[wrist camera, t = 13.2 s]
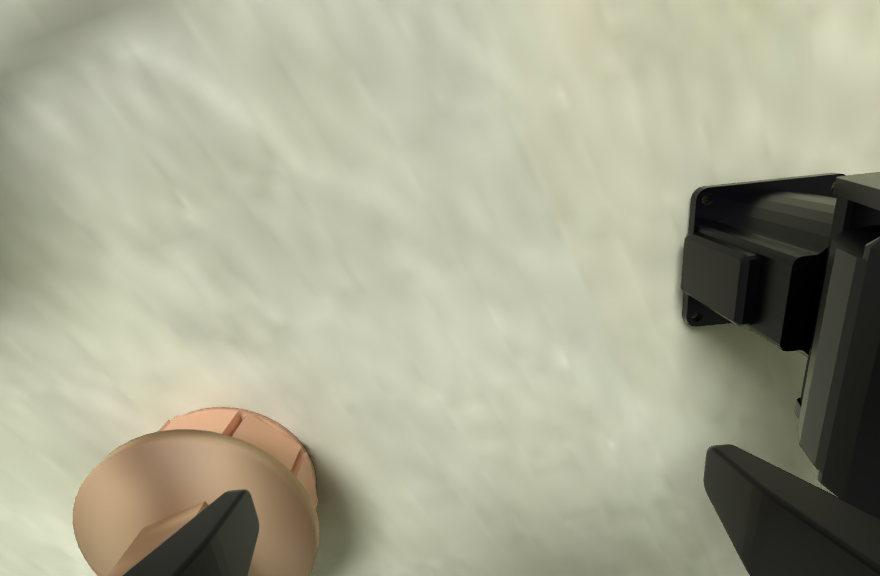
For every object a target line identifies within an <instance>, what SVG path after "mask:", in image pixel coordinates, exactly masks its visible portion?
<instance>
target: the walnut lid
mask: <svg viewBox="0 0 880 576" xmlns="http://www.w3.org/2000/svg"><path fill="white" fill-rule="evenodd" d="M239 489H246V490H248V491H249V492H250V493H251V496H252V499H253V502H254V506H255V509H256V512H257V516H258V519H259V534H258V538H257V542H256V546H255V550H254V554H253V558H252V562H251V565H250V569H249V573H248V576H309V574H310V572H311V570H312V567H313V564H314V560H315V557H316V553H317V549H318V545H319V536H320V528H319V519H318V516H317V512H316V508H315V506H314V504H313V501H312V499H311V497H310V495H309V494H308V492H307V490H306V489H305V487H304V486H303V484H302V483H301V482H300V481H299V480H298V478H297V477H296V476H295V475H294V474H293V473H292V472H291V471H290V470H289V469H288V468H287V467H286V466H285V465H284V464H283V463H281V462H280V461H278V460H277V459H276V458H274V457H273V456H272V455H270V454H269V453H267V452H265V451H263V450H262V449H260V448H258V447H256V446H254V445H252V444H250V443H247V442H245V441H243V440H240V439H237V438H234V437H231V436H228V435H225V434H220V433H216V432H211V431H203V430H194V429H175V430H166V431H159V432H155V433H151V434H146V435H143V436H141V437H138V438H135V439H133V440H131V441H129V442H127V443H125V444H123V445H121V446H120V447H118V448H117V449H116V450H114V451H113V452H112V453H110V454H109V455H108V456H107V457H106V458H105V459H104V460H103V461H102V462H101V463H100V464H99V465H98V466H97V467H96V468H95V469H94V470H93V471H92V472H91V473H90V474H89V475H88V476H87V477H86V479H85V481H84V482H83V484H82V485H81V487H80V489H79V491H78V494H77V496H76V498H75V503H74V508H73V527H74V534H75V537H76V540H77V543H78V546H79V548H80V550H81V552H82V554H83V556H84V558H85V560H86V561H87V563H88V564H89V565H90V567H91V568H92V570H93V571H94V572H95V573H96V574H97V575H98V576H122V575H123V574H124V573H126V572H127V571H128V570H129V569H131V568H132V567H133V566H134V565H135V564H137V563H138V562H139V561H140V560H142V559H143V558H144V557H145V556H147V555H148V554H149V553H150V552H152V551H153V550H154V549H155V548H156V547H158V546H159V545H160V544H161V543H163V542H164V541H165V540H166V539H168V538H169V537H170V536H171V535H173V534H174V533H175V532H176V531H177V530H179V529H180V528H181V527H182V526H184V525H185V524H186V523H187V522H189V521H190V520H191V519H192V518H194V517H195V516H196V515H197V514H198V513H200V512H201V511H202V510H203V509H205V508H206V507H207V506H208V505H210V504H211V503H212V502H213V501H215V500H216V499H217V498H218V497H219V496H221V495H222V494H223V493H225V492H226V491H230V490H239Z"/></svg>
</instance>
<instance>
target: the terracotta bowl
mask: <svg viewBox="0 0 880 576" xmlns="http://www.w3.org/2000/svg"><path fill="white" fill-rule="evenodd" d="M175 429H194V430H203V431H211V432H216V433H220V434H225V435H228V436H231V437H234V438H237V439H240V440H243V441H245V442H247V443H250V444H252V445H254V446H256V447H258V448H260V449H262V450H263V451H265V452H267V453H269V454H270V455H272V456H273V457H274V458H276V459H277V460H278V461H280V462H281V463H283V464H284V465H285V466H286V467H287V468H288V469H289V470H290V471H291V472H292V473H293V474H294V475H295V476H296V477H297V478H298V480H299V481H300V482H301V483H302V484H303V486H304V487H305V489H306V490H307V492H308V494H309V495H310V497H311V499H312V501H313V504H314V506H315V508H316V506H317V503H318V498H317V493H316V474H315V469H314V466H313V463H312V460H311V458H310V456H309V454H308V452H307V451H306V449H305V448H304V447H303V445H302V444H301V443H300V442H299V440H298V439H297V438H296V437H295V436H294V435H293V434H292V433H290V432H289V431H288V430H287V429H286V428H284V427H283V426H281V425H280V424H278V423H277V422H275V421H273V420H271V419H269V418H267V417H265V416H263V415H260V414H258V413H254V412H251V411H248V410H243V409H238V408H228V407H214V408H206V409H200V410H197V411H193V412H190V413H188V414H185V415H183V416H176V417H175V418H174V419H173V420H172V421H169V420H168V421H167V422H166V423H165V425H164V426H163V427H162V428H161V429H160V430H159V431H166V430H175ZM159 431H158V432H159Z"/></svg>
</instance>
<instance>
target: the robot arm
mask: <svg viewBox="0 0 880 576" xmlns="http://www.w3.org/2000/svg"><path fill="white" fill-rule="evenodd" d="M834 181H835V187H834V188H833V189H831V186H832V183H833V182H834ZM705 194H708V200H707V201H706V202H705V203H702V197H703V196H704V195H705ZM681 289H682V290H683V291H684V298H683V311H682V317H683V319H684V321H685V322H687V323H688V324H690V325H691V326H706V325H716V324H726V323H734V324H735V325H737V326H744V327H746V328H748V329H749V330H751V331H752V332H754V333H756V334H757V335H759V336H760V337H762V338H764V339H765V340H767V341H769V342H770V343H772V344H773V345H775V346H777V347H778V348H780V349H781V350H783V351H796V350H797V351H799V352H800V353H802V354H804V355H805V356H807V357H808V360H807V366H806V371H805V377H804V382H803V388H802V394H801V398H798V399H797V402H796V408H795V414H796V415H797V417H798V419H799V422H798V436H799V445H800V446H801V448H802V449H803V450H804V452H805V453H806V455H807V456H808V458H809V459H810V460H811V462H812V463H813V465H814V466H815V467H816V468H817V469H818V470H819V471H818V480H819V481H820V483H821V484H822V485H824V486H825V487H826V488H827V489H828V490H830V491H831V492H832V493H833V494H835V495H836V496H837V497H836V496H834V495H832V494H830V493H828V492H826V491H824V490H822V489H820V488H818V487H816V486H814V485H812V484H810V483H808V482H806V481H804V480H802V479H800V478H798V477H796V476H794V475H792V474H790V473H788V472H786V471H784V470H782V469H780V468H778V467H776V466H774V465H772V464H770V463H768V462H766V461H764V460H762V459H760V458H758V457H756V456H754V455H752V454H750V453H748V452H746V451H744V450H742V449H740V448H738V447H736V446H734V445H729V444H727V445H716V446H711V447H709V448H708V450H707V453H706V462H705V471H704V486H705V490H706V493H707V495H708V497H709V499H710V501H711V503H712V505H713V506H714V508H715V510H716V512H717V514H718V516H719V518H720V520H721V522H722V524H723V526H724V528H725V530H726V532H727V534H728V535H729V537H730V539H731V541H732V543H733V545H734V547H735V549H736V551H737V553H738V555H739V557H740V559H741V561H742V562H743V564H744V566H745V568H746V570H747V571H748V573H749V575H750V576H880V172H876V173H866V174H857V175H847V176H846V175H844V174H836V173H827V174H818V175H808V176H798V177H789V178H779V179H770V180H760V181H750V182H741V183H731V184H722V185H712V186H703V187H700V188H698V189H697V190H695V191H694V193H693V194H692V198H691V207H690V220H689V233H688V235H687V237H686V238H685V242H684V256H683V269H682V283H681ZM695 312H698V315H697V316H696V317H695V318H692V315H693V314H694V313H695ZM258 534H259V519H258V516H257V512H256V509H255V506H254V502H253V499H252V496H251V493H250V492H249V491H248V490H246V489H239V490H230V491H226V492H225V493H223V494H222V495H221V496H219V497H218V498H217V499H216V500H215V501H213V502H212V503H211V504H210V505H208V506H207V507H206V508H205V509H203V510H202V511H201V512H200V513H198V514H197V515H196V516H195V517H194V518H192V519H191V520H190V521H189V522H187V523H186V524H185V525H184V526H182V527H181V528H180V529H179V530H177V531H176V532H175V533H174V534H173V535H171V536H170V537H169V538H168V539H166V540H165V541H164V542H163V543H161V544H160V545H159V546H158V547H156V548H155V549H154V550H153V551H152V552H150V553H149V554H148V555H147V556H145V557H144V558H143V559H142V560H140V561H139V562H138V563H137V564H135V565H134V566H133V567H132V568H131V569H129V570H128V571H127V572H126V573H124V574H123V575H122V576H248V573H249V569H250V565H251V562H252V558H253V554H254V550H255V546H256V542H257V538H258Z"/></svg>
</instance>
